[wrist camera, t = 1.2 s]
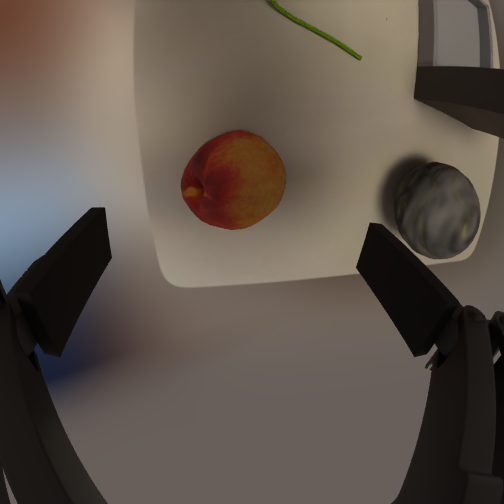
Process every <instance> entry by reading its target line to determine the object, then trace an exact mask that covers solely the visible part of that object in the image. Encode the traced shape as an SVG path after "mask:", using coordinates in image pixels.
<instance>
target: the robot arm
mask: <svg viewBox="0 0 504 504" xmlns="http://www.w3.org/2000/svg"><path fill="white" fill-rule="evenodd" d="M105 212H106V211H105V208H104V207H103V208H101V207H100V208H91V209H89V210H88V211H87V212H86V213H85V214H84V215H83V216H82V217H81V218H80V219H79V220H78V221H77V222H76V223H75V224H74V225H73V226H72V227H71V228H70V229H69V230H68V231H67V232H66V233H65V234H64V235H63V236H62V237H61V238H60V239H59V240H58V241H57V242H56V243H55V244H54V245H53V246H52V247H51V248H50V249H49V250H48V252H47V253H46V254H45V255H43V256H42V257H40V258H39V259H37V260H36V261H34V262H33V263H32V265H31V266H30V267H29V268H28V270H27V271H26V272H25V273H24V274H23V275H22V277H21V278H20V279H19V280H18V281H17V282H16V284H15V285H14V286H13V287H12V289H11V290H10V291H9V292H8V294H7V295H6V293H5V290H4V288H3V285H2V283H1V280H0V504H10V500H9V496H8V492H7V488H6V484H5V479H4V475H3V470H4V472H5V475H6V478H7V480H8V483H9V485H10V488H11V490H12V492H13V494H14V497H15V499H16V501H17V503H18V504H107V502H106V500H105V499H104V498H103V496H102V495H101V493H100V492H99V491H98V489H97V487H96V486H95V484H94V483H93V481H92V480H91V478H90V477H89V475H88V473H87V471H86V470H85V468H84V466H83V465H82V463H81V461H80V459H79V458H78V456H77V454H76V452H75V450H74V448H73V446H72V444H71V442H70V440H69V438H68V436H67V434H66V432H65V430H64V428H63V425H62V423H61V421H60V419H59V417H58V414H57V412H56V409H55V407H54V404H53V402H52V399H51V397H50V394H49V391H48V388H47V385H46V382H45V379H44V376H43V373H42V370H41V367H40V363H39V360H38V357H37V354H36V353H35V351H34V348H35V346H36V344H37V342H38V344H39V346H40V347H41V349H42V351H43V353H44V354H48V355H52V356H56V357H60V356H61V354H62V352H63V349H64V347H65V345H66V343H67V341H68V338H69V336H70V334H71V332H72V330H73V328H74V326H75V324H76V322H77V320H78V318H79V316H80V314H81V312H82V310H83V308H84V306H85V304H86V302H87V300H88V299H89V297H90V295H91V293H92V291H93V289H94V288H95V286H96V284H97V282H98V280H99V279H100V277H101V275H102V273H103V272H104V270H105V268H106V267H107V265H108V263H109V262H110V260H111V258H112V256H111V249H110V243H109V236H108V229H107V220H106V213H105ZM356 268H357V270H358V271H359V273H360V274H361V275H362V277H363V278H364V279H365V281H366V282H367V284H368V285H369V287H370V288H371V290H372V291H373V293H374V294H375V296H376V297H377V298H378V300H379V302H380V303H381V304H382V306H383V308H384V309H385V310H386V312H387V313H388V315H389V317H390V318H391V319H392V321H393V323H394V324H395V326H396V328H397V329H398V331H399V332H400V334H401V336H402V337H403V339H404V340H405V342H406V344H407V345H408V347H409V348H410V350H411V352H412V354H413V355H414V357H417V356H421V355H425V354H427V353H428V352H429V350H430V349H431V348H432V346H433V345H434V343H435V345H436V346H437V348H438V349H437V350H436V352H435V353H434V355H433V356H432V357H431V359H430V360H429V362H428V363H427V364H426V366H425V368H428V366H429V365H430V364H433V366H432V367H431V368H430V370H431V371H432V372H431V380H430V386H429V392H428V397H427V402H426V407H425V412H424V416H423V421H422V425H421V429H420V433H419V436H418V440H417V444H416V447H415V451H414V454H413V457H412V460H411V463H410V466H409V469H408V472H407V475H406V477H405V480H404V483H403V485H402V488H401V490H400V493H399V495H398V497H397V498H396V499H395V500H394V502H392V503H391V504H504V312H500V311H497V312H495V314H494V315H493V317H492V319H491V320H487V319H486V318H485V316H484V315H483V313H482V312H481V311H480V310H478V309H477V308H475V307H473V306H470V305H467V306H465V307H462V305H461V304H460V303H459V301H458V300H457V299H456V298H455V296H454V295H453V294H452V293H451V292H450V291H449V290H448V289H447V288H446V286H445V285H444V284H443V283H442V282H441V281H440V280H439V279H438V278H437V277H436V276H435V275H434V274H433V273H432V272H431V271H430V270H429V269H428V268H427V267H426V266H425V264H424V263H423V262H422V261H421V260H420V259H419V258H417V257H416V256H415V255H414V254H413V253H412V252H411V251H410V250H409V249H408V248H407V247H406V246H405V245H404V244H403V243H402V242H401V241H400V240H399V239H398V238H397V237H395V236H394V235H393V234H392V233H391V232H390V231H389V230H388V229H387V228H386V227H384V226H383V225H382V224H378V223H370V224H369V227H368V231H367V234H366V238H365V241H364V244H363V247H362V251H361V254H360V257H359V260H358V263H357V266H356ZM499 350H500V353H501V356H500V357H499V359H498V360H497V361H496V362H495V364H493V358H494V356H495V355H496V354H497V352H498V351H499ZM2 467H3V469H2Z"/></svg>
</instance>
